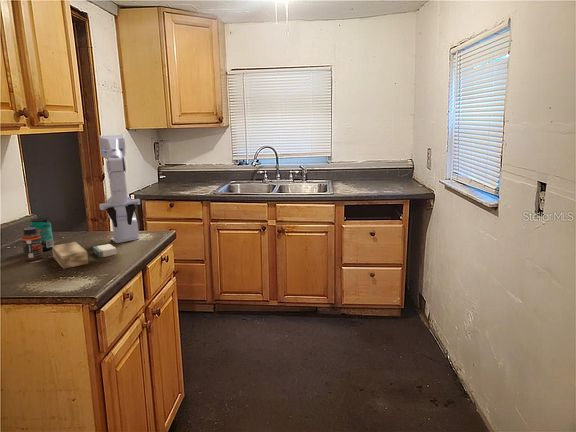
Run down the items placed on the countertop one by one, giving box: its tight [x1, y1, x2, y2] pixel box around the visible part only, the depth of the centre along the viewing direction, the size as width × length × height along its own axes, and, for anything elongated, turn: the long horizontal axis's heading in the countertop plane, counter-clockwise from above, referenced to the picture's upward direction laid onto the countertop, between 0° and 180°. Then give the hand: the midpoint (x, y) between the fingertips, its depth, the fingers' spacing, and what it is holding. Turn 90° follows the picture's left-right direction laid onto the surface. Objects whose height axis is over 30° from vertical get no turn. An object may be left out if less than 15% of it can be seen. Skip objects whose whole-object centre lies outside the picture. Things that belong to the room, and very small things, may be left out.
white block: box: [92, 243, 118, 258], centre depth 163 cm, size 6×8×2 cm
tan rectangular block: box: [51, 241, 89, 270], centre depth 155 cm, size 8×16×4 cm, turn 39°
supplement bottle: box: [21, 226, 44, 261], centre depth 158 cm, size 6×6×11 cm
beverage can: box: [29, 217, 55, 252], centre depth 168 cm, size 7×7×12 cm
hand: (122, 225), depth 165 cm, fingers open, 5 cm apart
